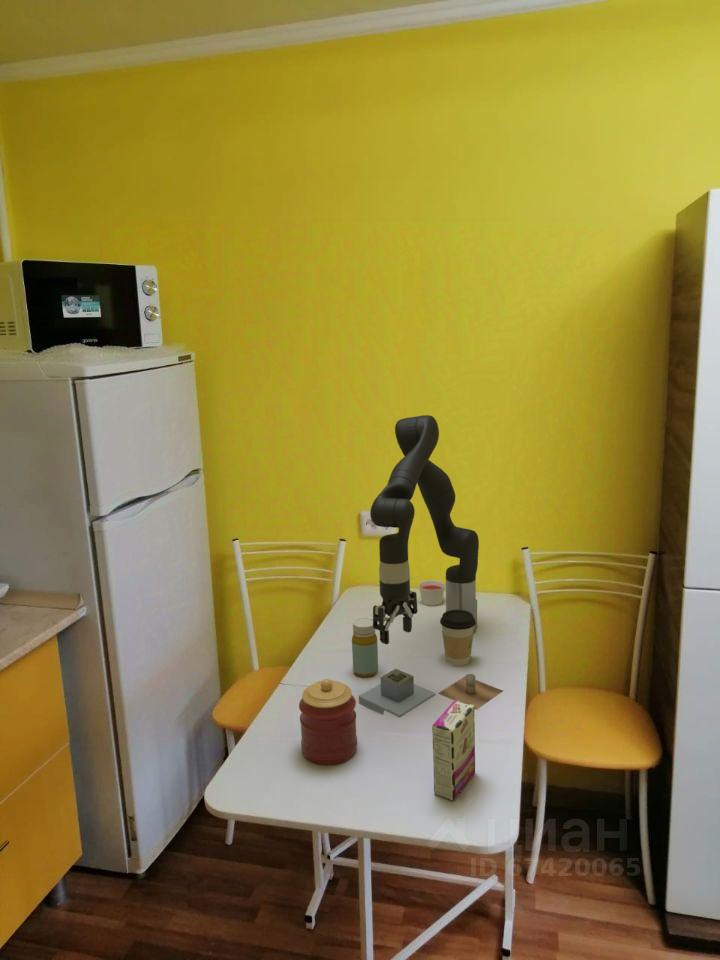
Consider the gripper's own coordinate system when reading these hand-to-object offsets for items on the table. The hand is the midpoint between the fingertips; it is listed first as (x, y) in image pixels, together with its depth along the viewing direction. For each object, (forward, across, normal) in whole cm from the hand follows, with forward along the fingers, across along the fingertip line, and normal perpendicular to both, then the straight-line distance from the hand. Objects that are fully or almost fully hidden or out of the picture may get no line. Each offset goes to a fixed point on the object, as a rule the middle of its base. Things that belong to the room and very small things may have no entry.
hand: (396, 637), depth 182 cm
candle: (+19, -57, -34) cm, 69 cm away
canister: (+18, +26, +2) cm, 32 cm away
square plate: (+18, 0, 0) cm, 18 cm away
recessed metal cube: (+16, 0, 0) cm, 16 cm away
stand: (+18, -14, +13) cm, 26 cm away
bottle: (+18, -6, -17) cm, 26 cm away
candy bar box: (+18, +17, +31) cm, 40 cm away
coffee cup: (+18, -26, 0) cm, 32 cm away
